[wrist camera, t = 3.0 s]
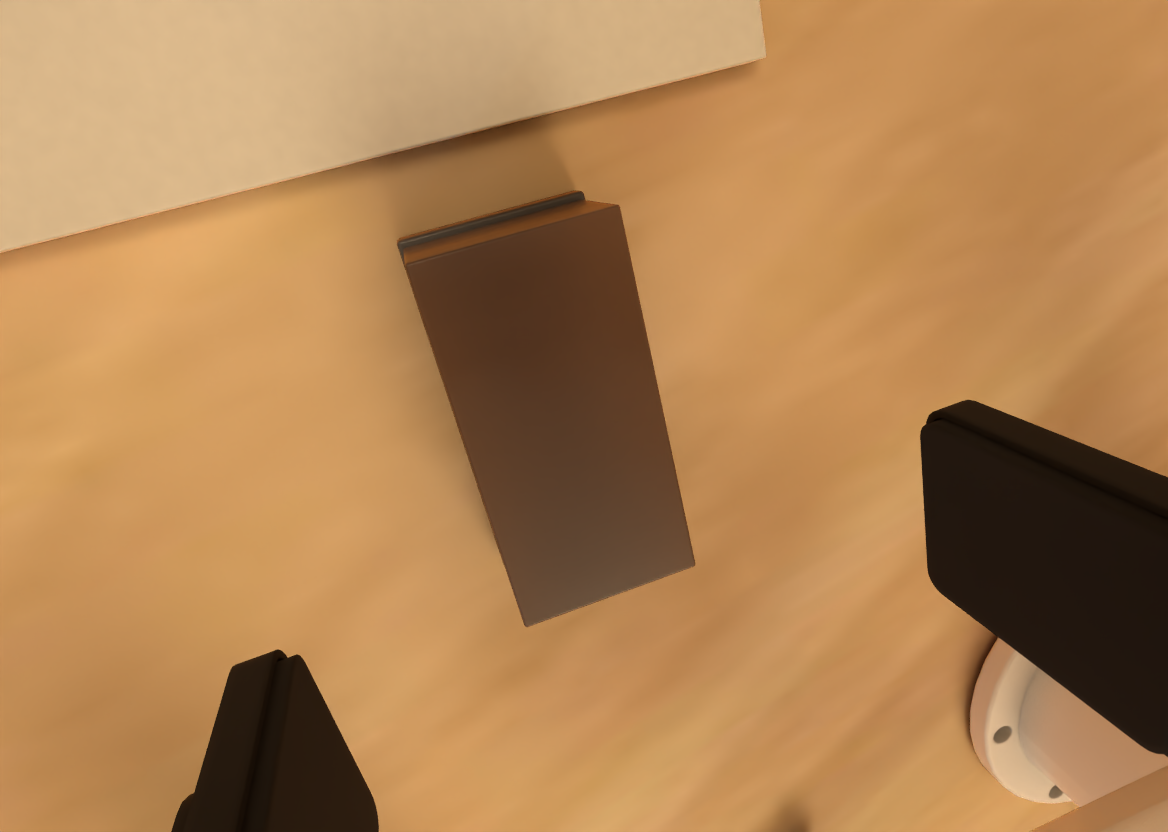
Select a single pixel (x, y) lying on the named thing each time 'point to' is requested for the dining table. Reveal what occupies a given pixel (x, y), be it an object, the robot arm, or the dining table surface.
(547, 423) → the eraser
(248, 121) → the board
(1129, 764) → the robot arm
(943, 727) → the dining table surface
